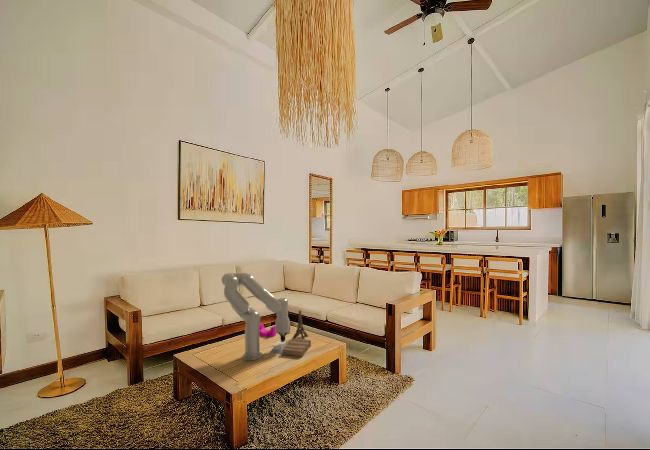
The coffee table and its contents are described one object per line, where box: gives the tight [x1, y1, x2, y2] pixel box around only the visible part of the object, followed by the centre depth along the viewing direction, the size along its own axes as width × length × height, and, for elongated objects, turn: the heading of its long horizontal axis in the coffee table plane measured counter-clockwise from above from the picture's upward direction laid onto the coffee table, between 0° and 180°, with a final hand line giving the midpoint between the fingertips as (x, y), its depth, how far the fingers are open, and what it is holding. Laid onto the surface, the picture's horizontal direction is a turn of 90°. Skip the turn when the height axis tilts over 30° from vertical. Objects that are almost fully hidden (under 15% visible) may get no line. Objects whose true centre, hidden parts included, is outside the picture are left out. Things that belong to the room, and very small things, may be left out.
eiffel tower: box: [291, 310, 309, 340], centre depth 239 cm, size 11×11×25 cm
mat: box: [269, 343, 288, 355], centre depth 218 cm, size 16×10×1 cm, turn 165°
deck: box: [282, 337, 312, 358], centre depth 215 cm, size 20×14×4 cm
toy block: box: [259, 323, 277, 338], centre depth 244 cm, size 15×6×8 cm, turn 65°
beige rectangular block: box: [272, 340, 287, 351], centre depth 219 cm, size 9×6×3 cm, turn 165°
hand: (282, 341), depth 218 cm, fingers closed
